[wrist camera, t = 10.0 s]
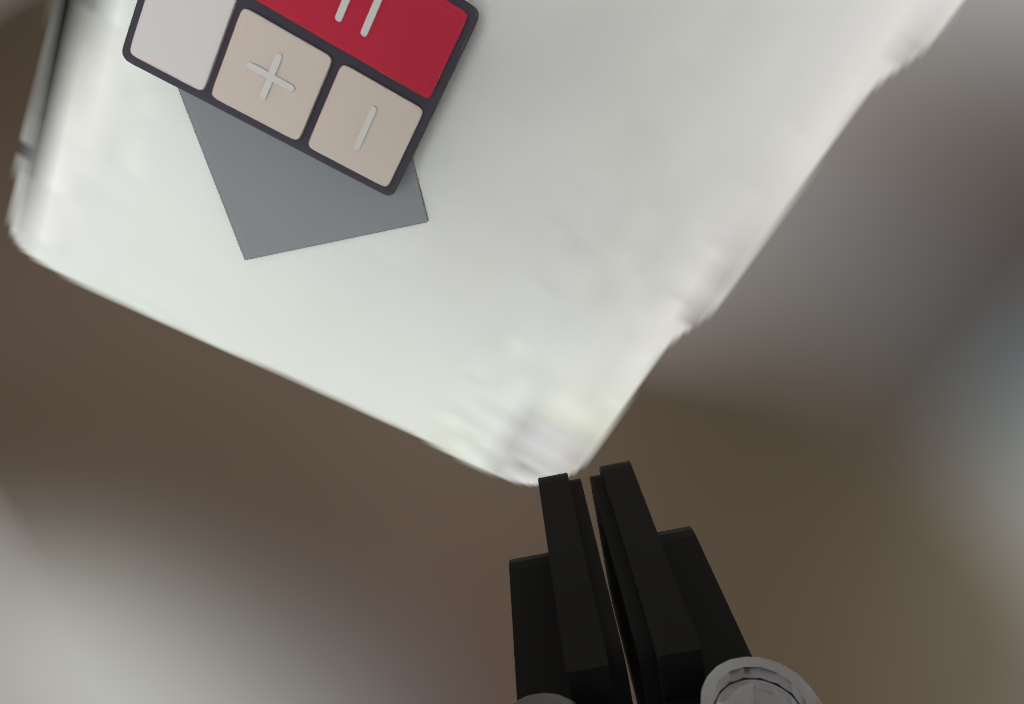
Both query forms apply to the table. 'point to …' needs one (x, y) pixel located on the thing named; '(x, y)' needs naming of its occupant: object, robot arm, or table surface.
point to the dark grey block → (313, 70)
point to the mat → (291, 189)
